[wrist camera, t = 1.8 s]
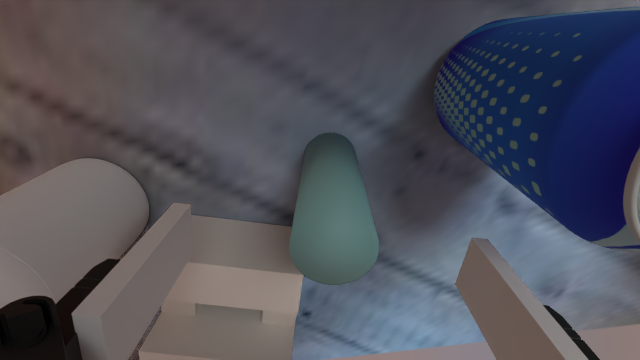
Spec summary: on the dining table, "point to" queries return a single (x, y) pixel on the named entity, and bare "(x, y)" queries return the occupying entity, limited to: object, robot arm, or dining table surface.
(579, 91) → the beer can
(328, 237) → the peg
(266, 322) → the socket
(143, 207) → the pill bottle
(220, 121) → the dining table surface
